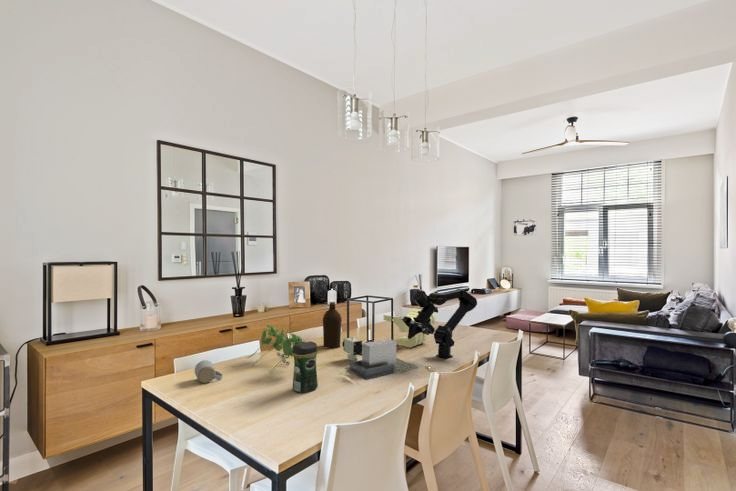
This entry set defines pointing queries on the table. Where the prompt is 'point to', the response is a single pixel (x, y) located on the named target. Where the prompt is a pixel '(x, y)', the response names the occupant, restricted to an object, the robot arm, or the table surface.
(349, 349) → the pneumatic valve
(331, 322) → the olive oil
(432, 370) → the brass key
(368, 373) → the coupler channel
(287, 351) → the plant cuttings
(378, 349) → the block
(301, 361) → the coffee jar
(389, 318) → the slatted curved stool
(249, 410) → the table surface
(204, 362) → the ceramic mug
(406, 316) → the robot arm
